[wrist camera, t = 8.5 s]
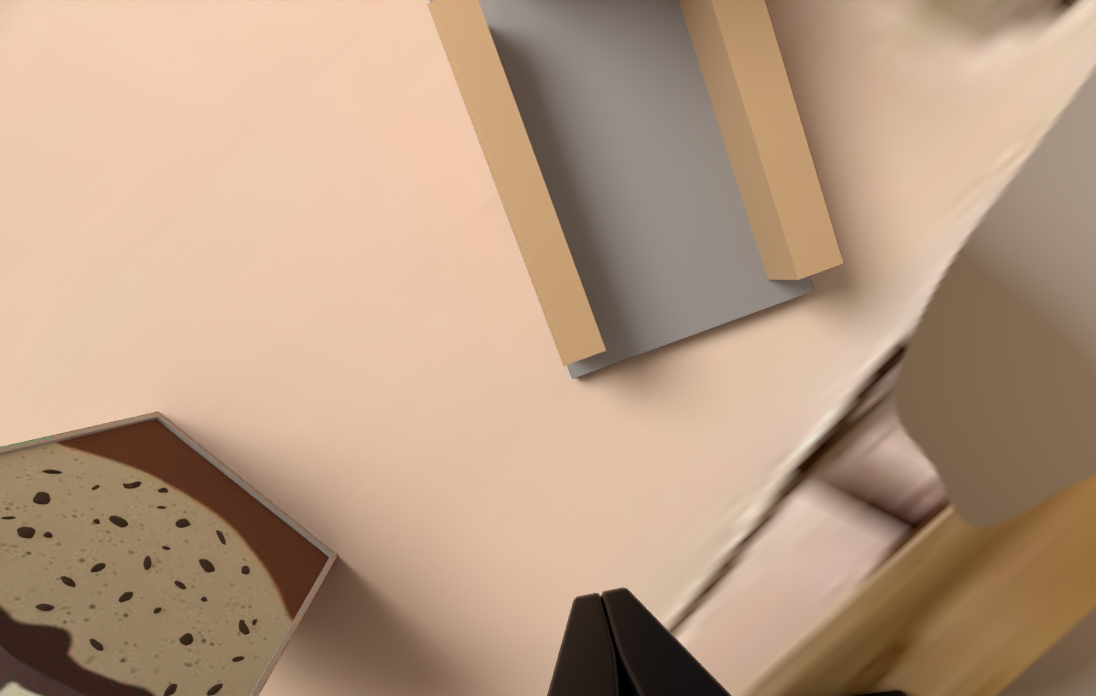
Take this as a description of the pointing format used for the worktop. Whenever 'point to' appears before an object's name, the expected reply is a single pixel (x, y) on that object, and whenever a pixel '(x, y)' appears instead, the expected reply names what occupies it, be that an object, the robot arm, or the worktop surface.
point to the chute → (641, 163)
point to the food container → (143, 567)
